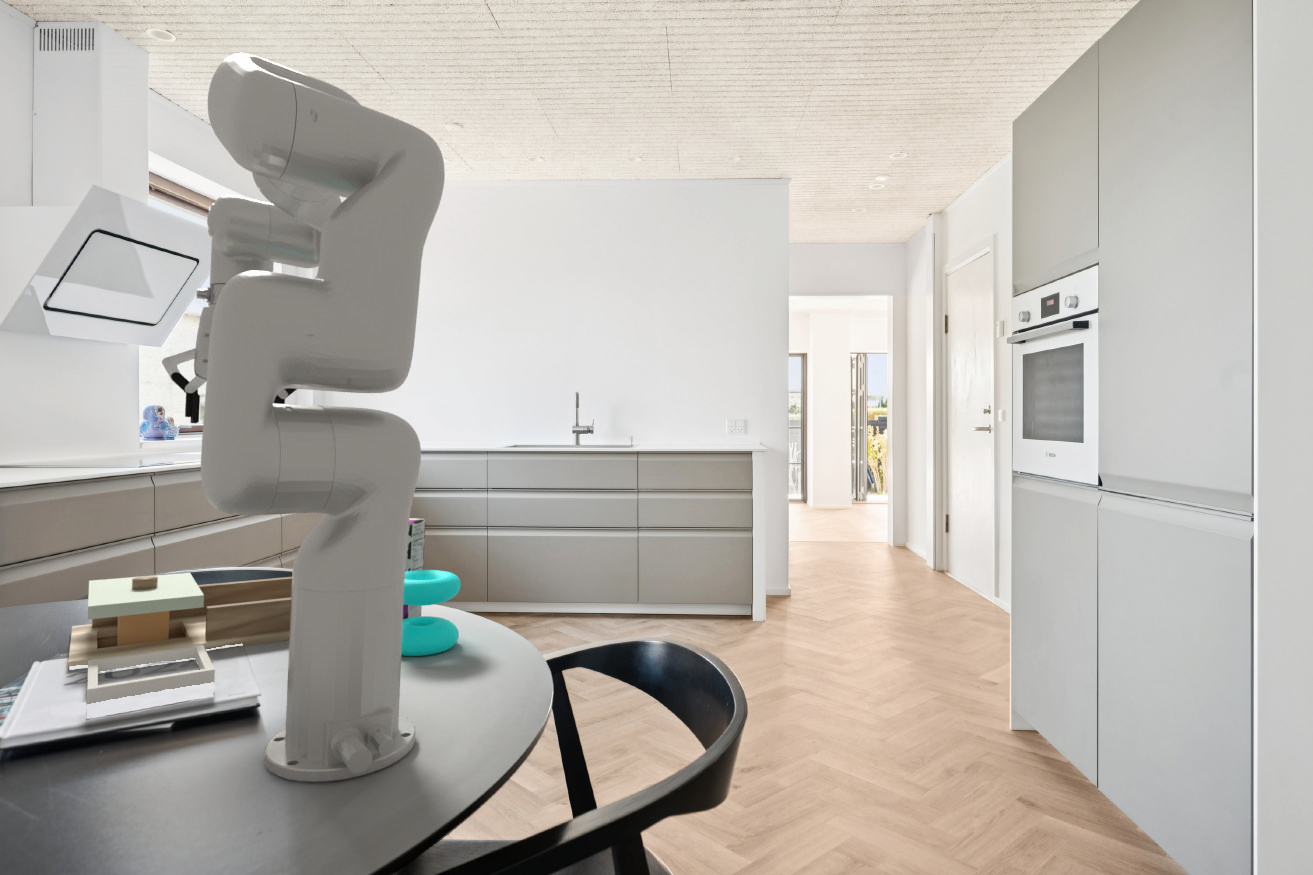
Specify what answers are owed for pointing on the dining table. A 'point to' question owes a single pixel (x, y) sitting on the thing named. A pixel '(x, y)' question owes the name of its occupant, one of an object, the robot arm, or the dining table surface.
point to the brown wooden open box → (201, 622)
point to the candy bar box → (414, 557)
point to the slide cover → (143, 595)
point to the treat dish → (152, 683)
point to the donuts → (426, 630)
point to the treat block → (142, 628)
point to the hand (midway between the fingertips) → (235, 424)
